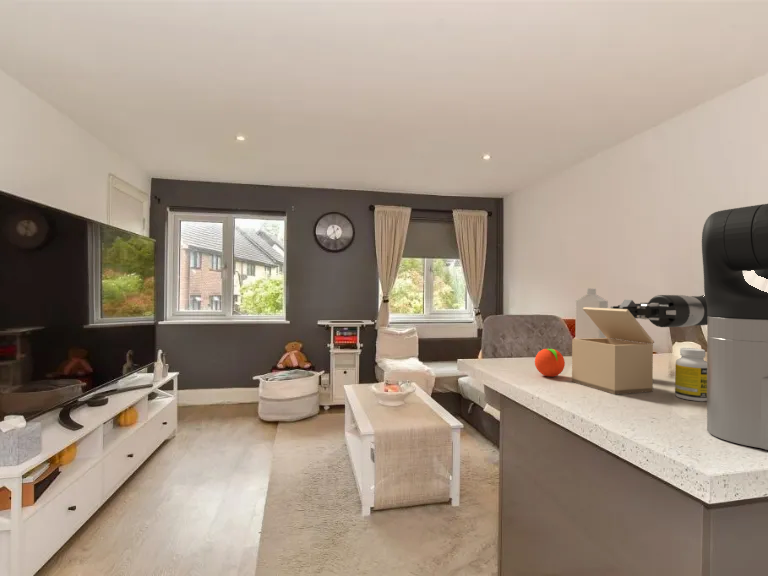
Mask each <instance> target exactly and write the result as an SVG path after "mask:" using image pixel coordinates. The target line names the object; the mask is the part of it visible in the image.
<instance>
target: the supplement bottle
mask: <svg viewBox="0 0 768 576" xmlns="http://www.w3.org/2000/svg"><path fill="white" fill-rule="evenodd" d="M679 355H680V356H681V357H680V358H678V359H676V361H675V380H674V381H675V383H674V387H675V388H674V394H675V396H676V397H677V398H680V399H683V400H687V401H688V400H689V401H693V402H707V360H705V357H706V350H705V349H702V348H693V347H681V348H679Z"/></svg>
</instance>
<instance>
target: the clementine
mask: <svg viewBox="0 0 768 576" xmlns="http://www.w3.org/2000/svg"><path fill="white" fill-rule="evenodd" d="M565 361H566V360H565V358H564V356H563V355H562V354H561V352H560V351H559V350H557V349H553V348H551V347H549V348H542V350H539V351H538V352H537V354H536V356H535V357H534V365H535V368H536V370H537V371H538V372H539V373H540V374H541V375H543V376H545V377H550V378H551V377H552V378H553V377H556V376H558V375H560V374H562V372H563V371H564V369H565V365H566V363H565Z"/></svg>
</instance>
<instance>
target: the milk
mask: <svg viewBox="0 0 768 576" xmlns="http://www.w3.org/2000/svg"><path fill="white" fill-rule="evenodd" d="M586 293H587V294H585V295H583V296H581V297H580V298H578V299H576V300H575V334H574V335H575V337H574V339H586V338H607V337H606V336H605V335H604V334H603V333H602V331H601V330H600V329H599V328H598V327H597V325H596V324H595V323H594V322H593V321H592V320H591V318H590V317H589V316H588V315H587V314H586V312H585V311H584V310H583V308H584V307H592V308H609V304H608V303H609V302H608V300H607V299H605V298H604V297H602V296H600V295H598V294H597V289H596V288H587V291H586Z"/></svg>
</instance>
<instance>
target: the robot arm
mask: <svg viewBox="0 0 768 576" xmlns="http://www.w3.org/2000/svg"><path fill="white" fill-rule="evenodd" d="M702 227H703V228H702V232H701V253H702V257H701V258H702V266H703V268H702V269H703V288H704V289H703V291H704V294H703V295H698V296H697V295H694V296H693V295H692V296H691V295H690V296H689V295H683V294H657V295H655V296H653V297H652V298H651V299H649V300H648V302H640V303H635V304H636V305H637V306H635V307H620V305H621V304H619V305H614V306H610V308H612V309H618V308H619V307H620V309H628V310H629V311H630V313H631V314H632V315H633V316H634V318H635V319H640V320H648V321H649V322H650V323H651V324H653V325H654V326H656V327H660V328H684V327H685V328H686V327H690V326H707V327H706V329H707V331H706V332H707V335H706V339H707V340H706V343H707V344H706V351H707V352H706V362H707V401H706V431H707V433H709V434H710V435H711V436H714V437H716V438H719V439H721V440H725V441H728V442H731V443H734V444H739V445H742V446H748V447H754V448H759V449H763V450H765V451H768V293H767V292H764V291H761V290H759V289H757V288H755V287H753V286H751V285H749V284H748V283H747V282H746V281H745V279H744V276H743V274H744V273H743V272H746V271H751V270H754V271H755V273H756V274H757V275H758V276H761V277H764V278H766V279H768V203H763V204H757V205H756V204H755V205H749V206H743V207H742V206H741V207H737V208H736V207H735V208H729V209H723V210H718V211H715V212H713V213H711V214H710V215H709V216H708V217H707V218H706V220H705V222H704V224H703V226H702ZM704 295H705V296H704ZM703 296H704V297H703Z"/></svg>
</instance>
